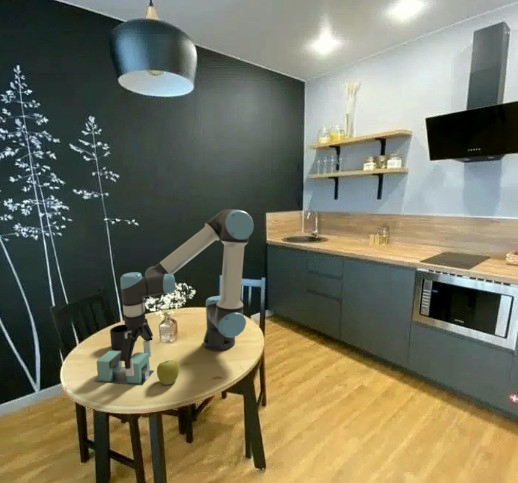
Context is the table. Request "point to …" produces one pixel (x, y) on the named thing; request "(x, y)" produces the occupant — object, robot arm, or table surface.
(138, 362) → the teal arch
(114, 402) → the table surface
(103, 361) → the teal notched block
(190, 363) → the table surface
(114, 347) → the mug
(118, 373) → the rail base
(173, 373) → the apple
